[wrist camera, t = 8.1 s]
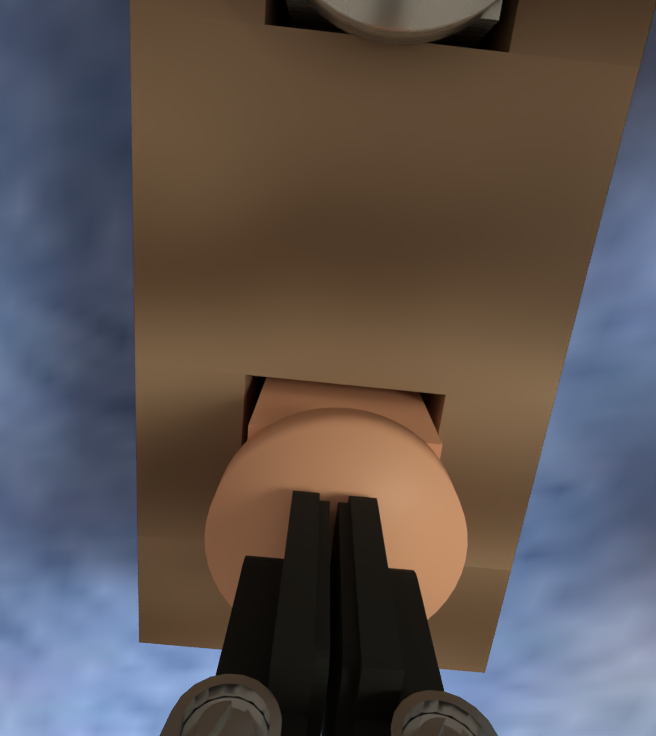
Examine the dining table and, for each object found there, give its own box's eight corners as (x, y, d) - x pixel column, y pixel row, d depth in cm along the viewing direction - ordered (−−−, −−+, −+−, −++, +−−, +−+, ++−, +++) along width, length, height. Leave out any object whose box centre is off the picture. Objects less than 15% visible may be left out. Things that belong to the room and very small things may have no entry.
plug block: (204, -331, 12) (119, -676, 7) (622, -278, 12) (805, -579, 8) (186, 534, 20) (139, 642, 15) (448, 558, 20) (484, 672, 15)
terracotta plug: (256, 332, 15) (208, 415, 9) (430, 349, 15) (491, 443, 9) (247, 485, 17) (201, 639, 11) (405, 500, 17) (443, 660, 11)
